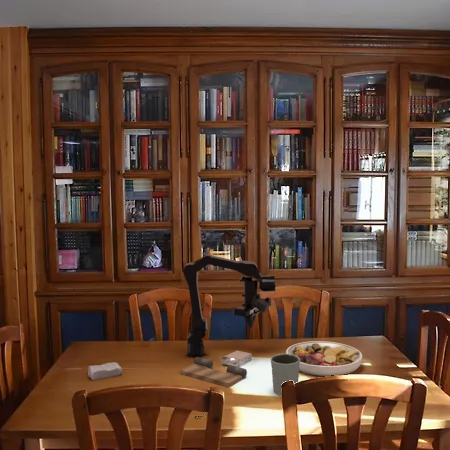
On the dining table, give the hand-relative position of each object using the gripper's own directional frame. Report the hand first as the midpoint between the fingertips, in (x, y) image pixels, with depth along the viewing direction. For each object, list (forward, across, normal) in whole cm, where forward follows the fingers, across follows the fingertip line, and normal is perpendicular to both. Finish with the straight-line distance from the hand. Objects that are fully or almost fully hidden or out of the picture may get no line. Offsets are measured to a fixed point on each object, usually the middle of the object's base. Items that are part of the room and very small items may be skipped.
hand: (251, 327), depth 215 cm
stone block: (+12, -49, +36) cm, 62 cm away
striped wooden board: (+12, -28, 0) cm, 30 cm away
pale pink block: (+12, -11, 0) cm, 16 cm away
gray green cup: (+12, -25, -30) cm, 41 cm away
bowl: (+12, +7, -30) cm, 33 cm away
